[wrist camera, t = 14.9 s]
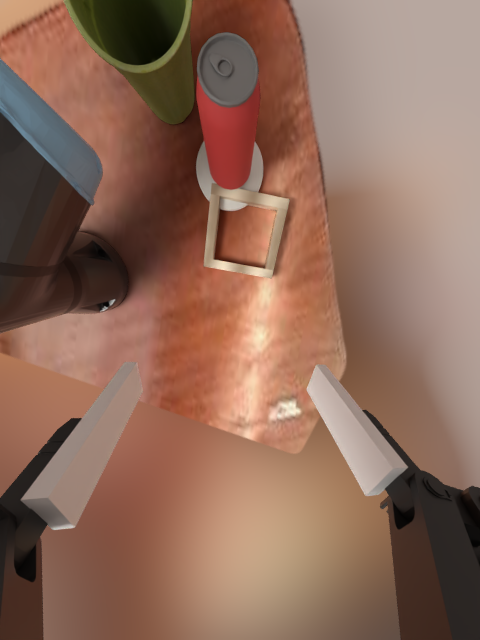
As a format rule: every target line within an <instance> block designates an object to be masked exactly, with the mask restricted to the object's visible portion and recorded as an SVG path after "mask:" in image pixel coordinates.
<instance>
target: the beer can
mask: <svg viewBox="0 0 480 640" xmlns="http://www.w3.org/2000/svg"><path fill="white" fill-rule="evenodd" d="M258 72H259V69H258V62H257V58H256V56H255V53H254V51H253V49H252V47H251V46H250V45H249V44H248V43H247V41H246V40H245V39H243V38H242V37H240V36H238V35H237V34H233V33H229V32H224V33H218V34H216V35H214V36H213V37H211V38H209V39H208V40H207V42H206V43H205V44H204V45H203V46H202V48H201V51H200V53H199V56H198V61H197V73H198V76H197V87H196V98H197V104H198V109H199V115H200V120H201V126H202V131H203V137H204V142H205V148H206V153H207V159H208V164H209V169H210V174H211V176H212V178H213V180H214V181H215V182H216V183H217V184H218V185H219V186H220V187H222V188H224V189H229V190H233V189H237V188H239V187H241V186H243V185H244V184H245V182H246V181H247V180H248V178H249V176H250V172H251V165H252V157H253V150H254V143H255V135H256V128H257V121H258V114H259V106H260V86H259V79H258Z"/></svg>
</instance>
